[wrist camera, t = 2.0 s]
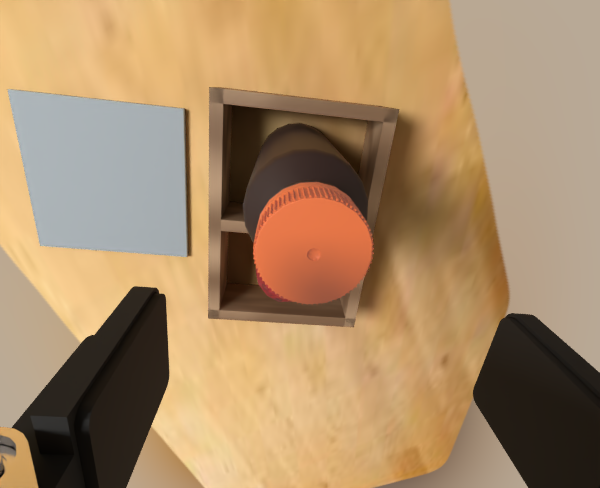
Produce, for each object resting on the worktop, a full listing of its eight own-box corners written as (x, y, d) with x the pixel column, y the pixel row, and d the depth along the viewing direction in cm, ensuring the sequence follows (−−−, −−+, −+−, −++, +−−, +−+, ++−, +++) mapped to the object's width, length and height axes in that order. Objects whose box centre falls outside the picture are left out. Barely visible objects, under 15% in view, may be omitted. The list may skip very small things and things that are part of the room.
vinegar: (245, 147, 32) (193, 226, 13) (310, 107, 30) (353, 134, 12) (283, 209, 34) (283, 347, 16) (344, 174, 33) (422, 280, 15)
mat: (11, 89, 29) (7, 89, 28) (184, 108, 30) (183, 108, 30) (43, 243, 34) (40, 245, 34) (188, 254, 36) (186, 256, 35)
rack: (220, 87, 29) (209, 87, 25) (381, 106, 31) (399, 109, 26) (217, 290, 37) (208, 318, 33) (345, 299, 39) (353, 327, 34)
